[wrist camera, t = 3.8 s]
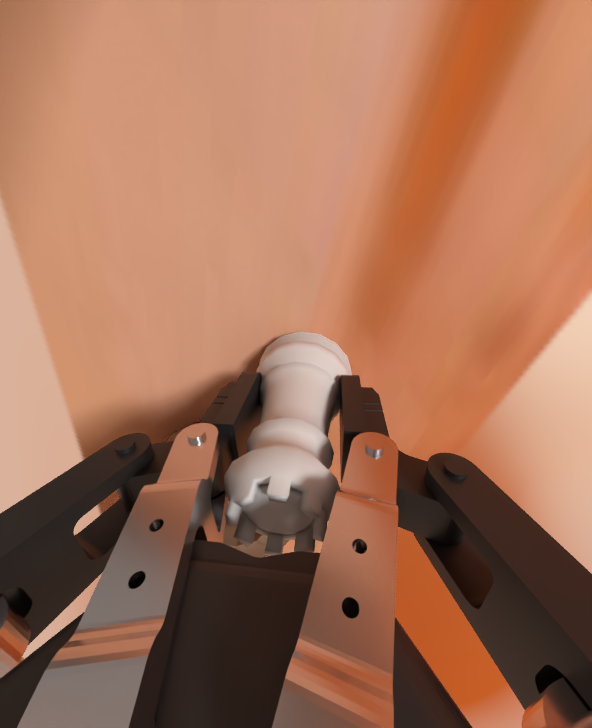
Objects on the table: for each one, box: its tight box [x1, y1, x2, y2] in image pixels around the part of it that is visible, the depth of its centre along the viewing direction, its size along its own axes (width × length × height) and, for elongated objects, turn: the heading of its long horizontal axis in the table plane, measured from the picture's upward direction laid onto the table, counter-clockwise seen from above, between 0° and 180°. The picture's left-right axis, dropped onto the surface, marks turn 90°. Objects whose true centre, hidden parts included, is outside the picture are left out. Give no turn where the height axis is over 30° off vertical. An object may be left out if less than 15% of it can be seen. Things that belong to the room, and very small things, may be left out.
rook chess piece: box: [224, 331, 352, 556], centre depth 10 cm, size 4×4×8 cm
